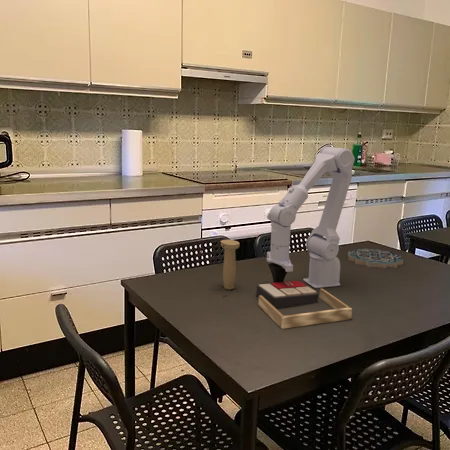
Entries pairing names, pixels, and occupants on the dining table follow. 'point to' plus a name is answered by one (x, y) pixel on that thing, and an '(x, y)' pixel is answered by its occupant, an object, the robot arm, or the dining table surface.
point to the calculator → (287, 294)
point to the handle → (229, 263)
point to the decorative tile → (375, 258)
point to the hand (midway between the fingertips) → (278, 286)
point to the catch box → (336, 314)
